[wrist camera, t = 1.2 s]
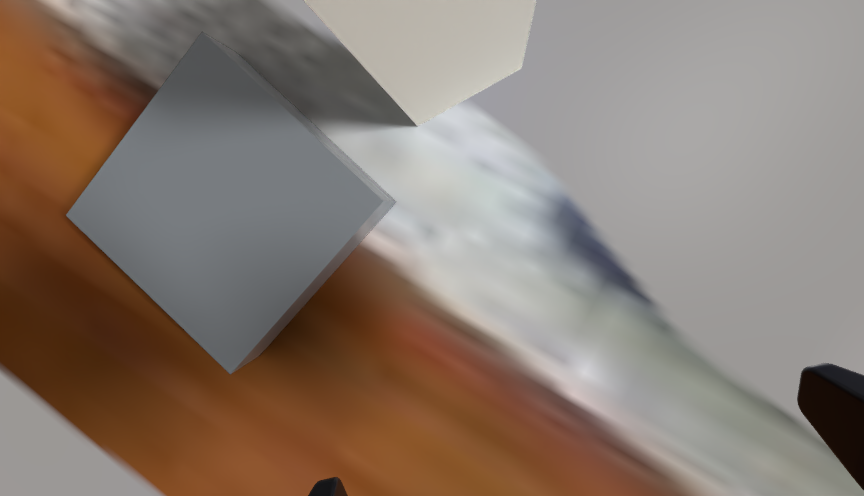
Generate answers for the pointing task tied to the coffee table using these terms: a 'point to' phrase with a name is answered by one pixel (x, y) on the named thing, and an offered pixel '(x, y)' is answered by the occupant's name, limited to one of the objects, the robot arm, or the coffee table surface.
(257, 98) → the plinth
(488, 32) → the post
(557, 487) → the coffee table surface
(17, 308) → the coffee table surface
